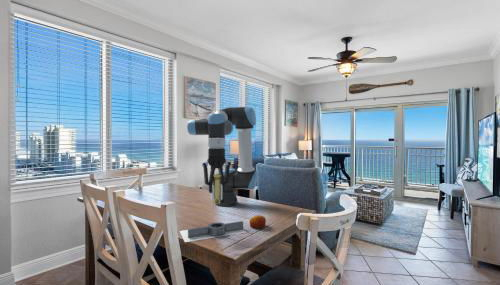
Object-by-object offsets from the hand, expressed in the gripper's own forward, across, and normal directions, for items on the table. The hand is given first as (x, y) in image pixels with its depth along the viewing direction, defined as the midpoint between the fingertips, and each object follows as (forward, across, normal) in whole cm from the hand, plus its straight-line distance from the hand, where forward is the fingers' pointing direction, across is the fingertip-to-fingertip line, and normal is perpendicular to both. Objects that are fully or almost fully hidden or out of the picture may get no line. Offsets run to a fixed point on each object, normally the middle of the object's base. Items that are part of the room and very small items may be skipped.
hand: (216, 199), depth 116 cm
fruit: (+17, +21, 0) cm, 27 cm away
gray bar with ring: (+15, 0, 0) cm, 15 cm away
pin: (+2, 0, 0) cm, 2 cm away
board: (+17, -1, +3) cm, 17 cm away
